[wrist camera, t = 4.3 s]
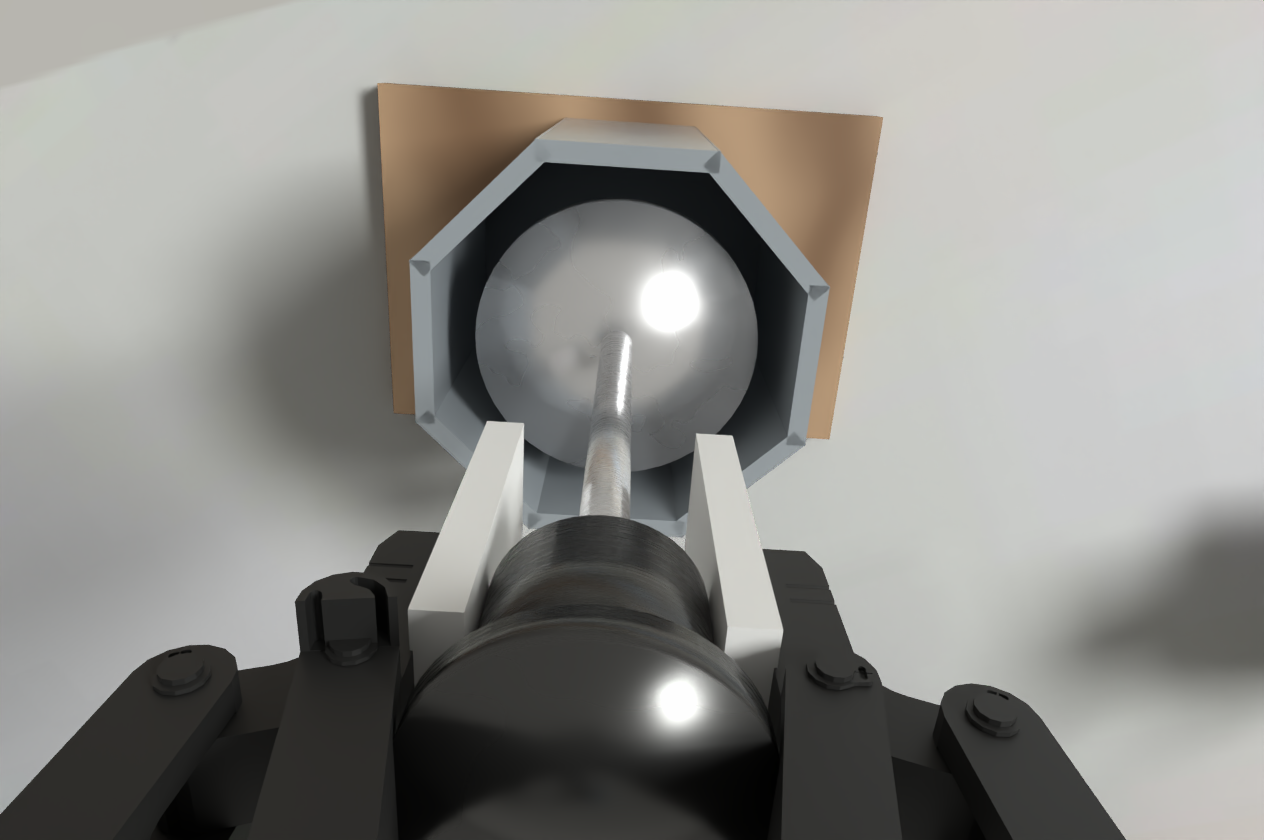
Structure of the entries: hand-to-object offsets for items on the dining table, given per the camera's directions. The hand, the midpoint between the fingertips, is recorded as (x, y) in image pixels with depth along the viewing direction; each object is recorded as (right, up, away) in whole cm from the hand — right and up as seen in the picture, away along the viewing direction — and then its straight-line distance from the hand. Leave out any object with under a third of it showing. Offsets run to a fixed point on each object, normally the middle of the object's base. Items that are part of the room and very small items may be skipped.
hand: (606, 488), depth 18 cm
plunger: (0, +4, +10) cm, 11 cm away
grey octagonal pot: (0, +6, +19) cm, 20 cm away
